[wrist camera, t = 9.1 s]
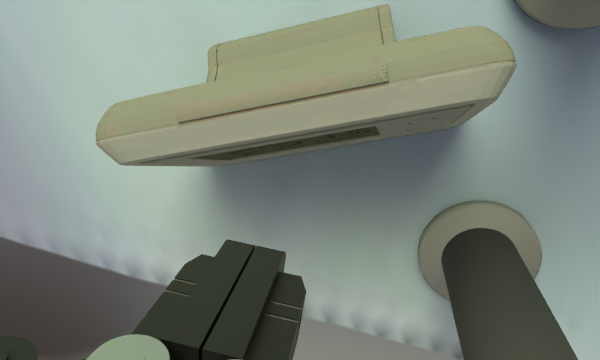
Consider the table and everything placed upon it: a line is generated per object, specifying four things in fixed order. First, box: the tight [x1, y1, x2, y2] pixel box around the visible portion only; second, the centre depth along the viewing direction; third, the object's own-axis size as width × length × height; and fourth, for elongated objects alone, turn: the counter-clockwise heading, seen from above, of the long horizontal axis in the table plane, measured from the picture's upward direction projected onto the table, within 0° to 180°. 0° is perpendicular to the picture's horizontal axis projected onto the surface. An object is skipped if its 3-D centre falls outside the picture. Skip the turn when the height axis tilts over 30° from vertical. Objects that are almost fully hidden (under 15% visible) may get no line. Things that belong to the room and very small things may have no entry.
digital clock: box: [96, 4, 516, 166], centre depth 20 cm, size 16×9×11 cm, turn 91°
